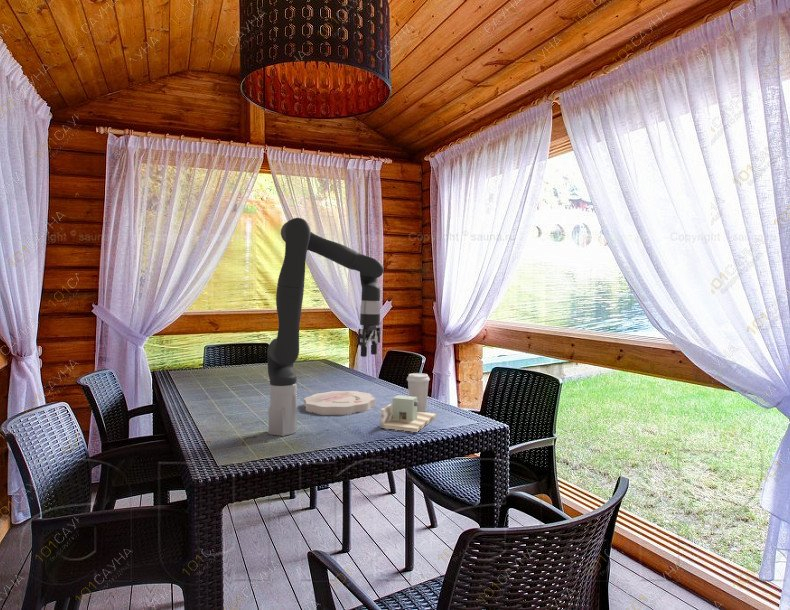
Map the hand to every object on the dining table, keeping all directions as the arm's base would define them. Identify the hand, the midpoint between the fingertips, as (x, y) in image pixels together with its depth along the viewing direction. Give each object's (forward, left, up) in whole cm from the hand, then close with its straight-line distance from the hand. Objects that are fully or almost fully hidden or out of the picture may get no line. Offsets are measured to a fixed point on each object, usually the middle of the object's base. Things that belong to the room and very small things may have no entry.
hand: (368, 355), depth 186 cm
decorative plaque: (+17, +22, -26) cm, 38 cm away
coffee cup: (+22, -12, -26) cm, 36 cm away
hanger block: (+4, -13, -24) cm, 27 cm away
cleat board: (+4, -15, -25) cm, 30 cm away
